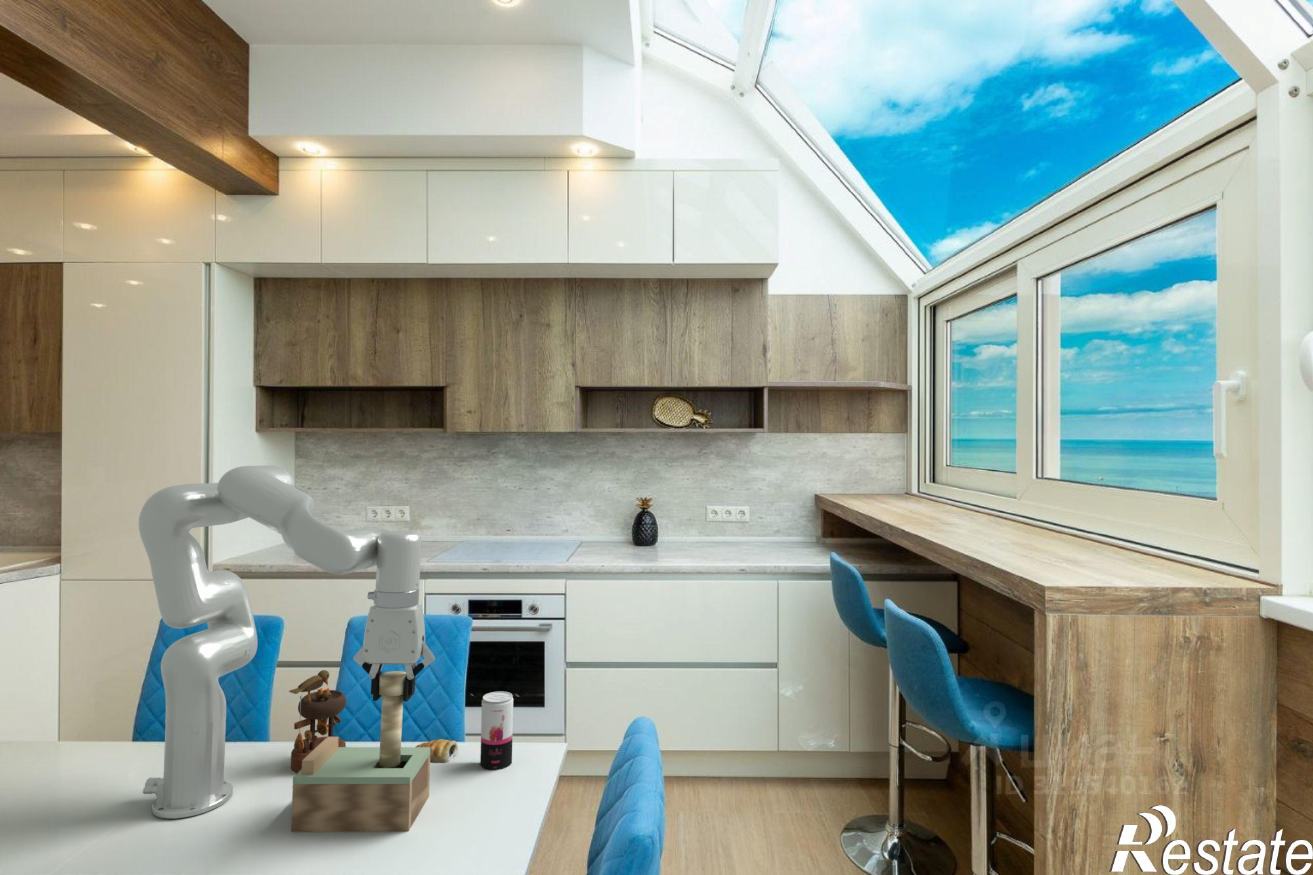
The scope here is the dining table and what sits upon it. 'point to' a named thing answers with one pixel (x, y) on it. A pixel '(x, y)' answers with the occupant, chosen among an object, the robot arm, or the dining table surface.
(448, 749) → the pastry
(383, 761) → the pin
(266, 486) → the robot arm
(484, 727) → the beverage can
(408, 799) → the wooden box
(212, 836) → the dining table surface
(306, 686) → the music box
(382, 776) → the green box lid
